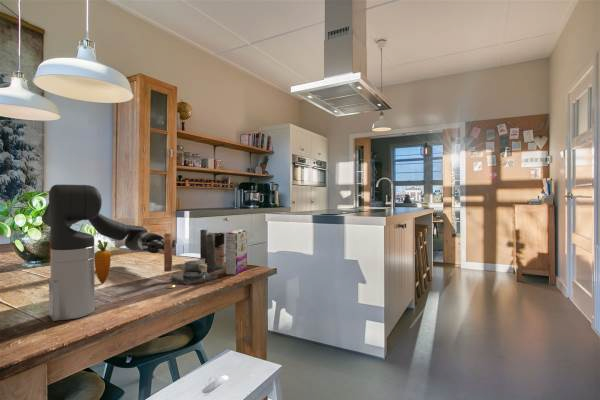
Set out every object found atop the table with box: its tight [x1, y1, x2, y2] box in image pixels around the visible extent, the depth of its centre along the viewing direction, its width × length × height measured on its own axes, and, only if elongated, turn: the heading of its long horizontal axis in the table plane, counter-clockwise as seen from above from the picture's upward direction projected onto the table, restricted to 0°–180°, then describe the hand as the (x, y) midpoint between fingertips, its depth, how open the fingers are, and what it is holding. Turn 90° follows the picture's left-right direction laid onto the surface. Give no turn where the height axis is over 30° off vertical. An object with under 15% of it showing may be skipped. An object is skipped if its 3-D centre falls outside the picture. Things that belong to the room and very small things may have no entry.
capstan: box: [163, 229, 216, 274], centre depth 116 cm, size 18×17×14 cm
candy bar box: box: [225, 229, 248, 276], centre depth 129 cm, size 11×5×16 cm, turn 168°
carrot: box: [94, 239, 112, 284], centre depth 110 cm, size 5×5×15 cm
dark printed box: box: [207, 230, 226, 270], centre depth 136 cm, size 7×7×15 cm
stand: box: [165, 270, 218, 289], centre depth 116 cm, size 18×13×3 cm
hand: (169, 248), depth 116 cm, fingers closed
